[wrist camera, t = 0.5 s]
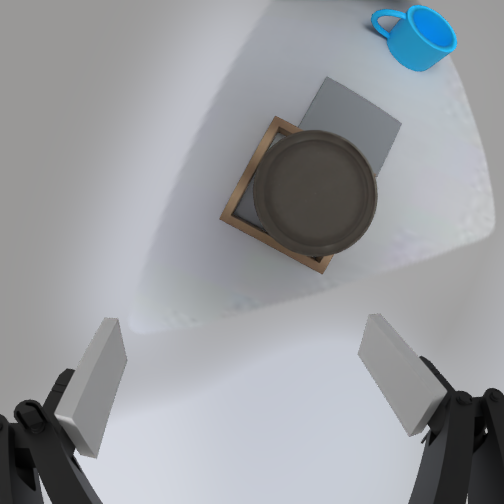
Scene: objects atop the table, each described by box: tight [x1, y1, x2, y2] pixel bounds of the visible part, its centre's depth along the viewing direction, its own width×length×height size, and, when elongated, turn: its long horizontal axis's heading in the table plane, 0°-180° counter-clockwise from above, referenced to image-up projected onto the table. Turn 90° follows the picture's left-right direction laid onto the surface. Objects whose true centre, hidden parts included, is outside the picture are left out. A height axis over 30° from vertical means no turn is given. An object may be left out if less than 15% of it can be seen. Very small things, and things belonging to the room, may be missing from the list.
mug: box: [371, 5, 457, 71], centre depth 27 cm, size 12×8×8 cm
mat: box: [298, 77, 402, 177], centre depth 34 cm, size 9×12×1 cm
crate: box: [219, 116, 376, 274], centre depth 35 cm, size 14×14×3 cm
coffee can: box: [253, 130, 378, 257], centre depth 29 cm, size 10×10×14 cm
